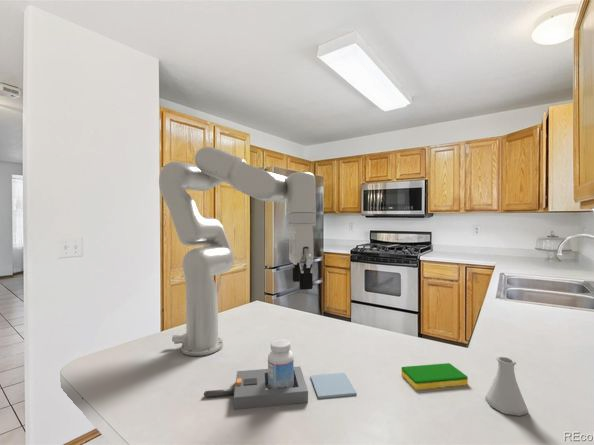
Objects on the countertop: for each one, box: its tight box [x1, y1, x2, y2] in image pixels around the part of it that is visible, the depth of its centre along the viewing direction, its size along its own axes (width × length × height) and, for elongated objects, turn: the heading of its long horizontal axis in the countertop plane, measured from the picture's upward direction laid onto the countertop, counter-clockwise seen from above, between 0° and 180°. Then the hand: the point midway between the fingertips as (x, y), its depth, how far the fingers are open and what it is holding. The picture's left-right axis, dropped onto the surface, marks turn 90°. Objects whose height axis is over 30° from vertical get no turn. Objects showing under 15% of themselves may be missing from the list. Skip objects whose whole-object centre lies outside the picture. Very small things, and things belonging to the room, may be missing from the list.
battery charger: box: [203, 365, 309, 410], centre depth 68 cm, size 23×11×3 cm, turn 98°
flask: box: [484, 356, 529, 417], centre depth 63 cm, size 7×7×10 cm
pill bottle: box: [267, 338, 295, 390], centre depth 69 cm, size 6×6×11 cm
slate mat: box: [310, 372, 358, 399], centre depth 71 cm, size 9×9×1 cm
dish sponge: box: [400, 362, 469, 391], centre depth 73 cm, size 7×14×2 cm, turn 98°
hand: (302, 285), depth 77 cm, fingers open, 9 cm apart
